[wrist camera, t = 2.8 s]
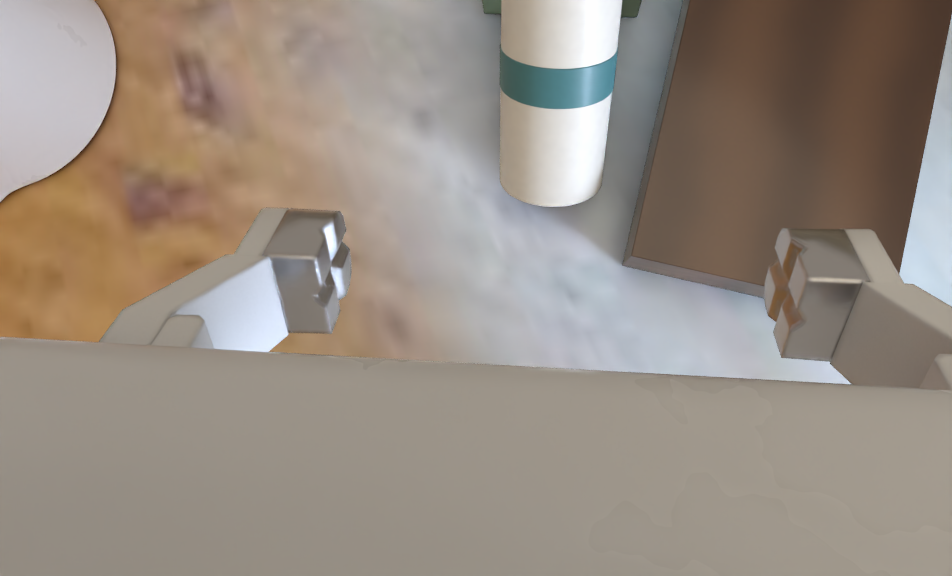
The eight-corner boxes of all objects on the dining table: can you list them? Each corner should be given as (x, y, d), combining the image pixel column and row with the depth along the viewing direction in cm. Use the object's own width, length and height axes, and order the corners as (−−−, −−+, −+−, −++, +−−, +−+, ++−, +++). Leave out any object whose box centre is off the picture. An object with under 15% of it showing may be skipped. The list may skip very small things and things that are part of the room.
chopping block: (621, 265, 41) (630, 256, 37) (697, -64, 42) (714, -107, 38) (855, 319, 40) (891, 315, 36) (926, -23, 41) (967, -64, 37)
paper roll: (597, 223, 41) (625, 161, 28) (498, 218, 42) (481, 155, 29) (609, 3, 43) (640, -153, 30) (512, 1, 43) (501, -153, 30)
